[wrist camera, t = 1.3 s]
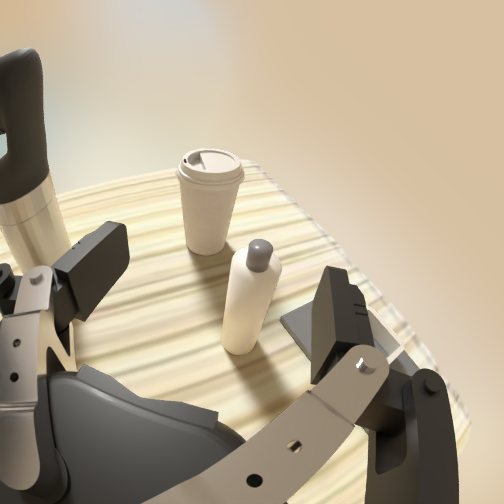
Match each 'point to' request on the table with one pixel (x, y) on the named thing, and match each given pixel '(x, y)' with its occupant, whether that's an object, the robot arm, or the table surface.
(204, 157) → the coffee cup
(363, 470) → the table surface
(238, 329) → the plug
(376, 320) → the floor socket
